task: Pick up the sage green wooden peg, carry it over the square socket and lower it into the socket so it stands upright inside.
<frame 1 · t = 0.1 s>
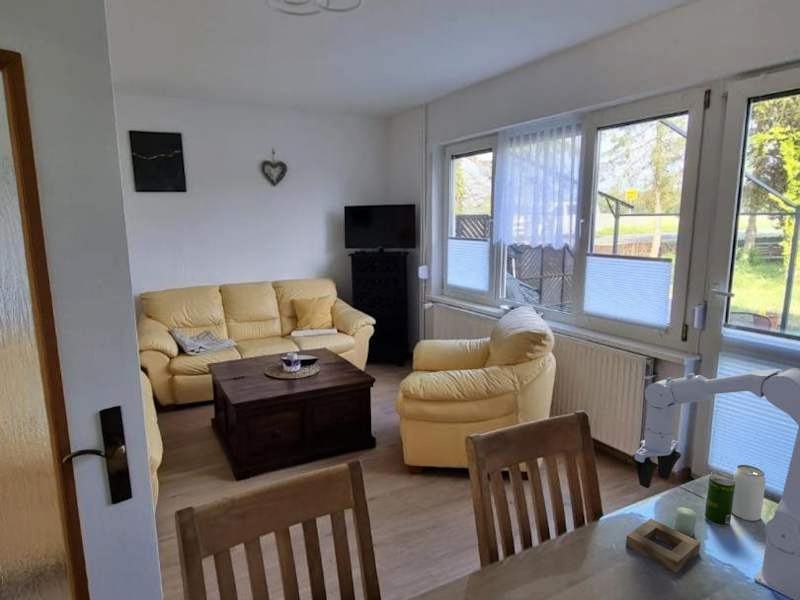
hand: (653, 482, 121), 10 cm above the table, tool pointing down, fingers open, 7 cm apart
can: (744, 515, 126), on the table
socket: (662, 548, 112), on the table
beer can: (716, 521, 123), on the table
peg: (684, 531, 118), on the table
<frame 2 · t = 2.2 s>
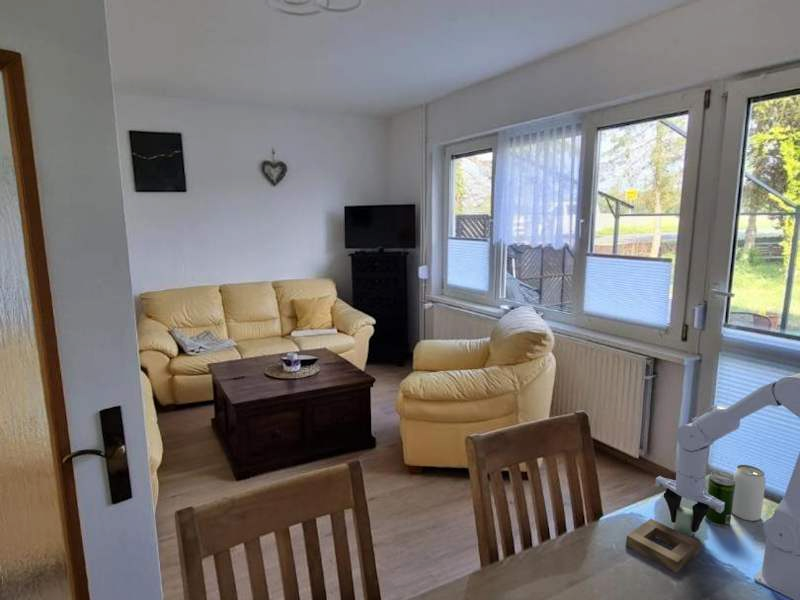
hand: (684, 525, 118), 1 cm above the table, tool pointing down, fingers closed on peg, 4 cm apart
peg: (684, 531, 118), on the table, touching gripper
everything else where it was.
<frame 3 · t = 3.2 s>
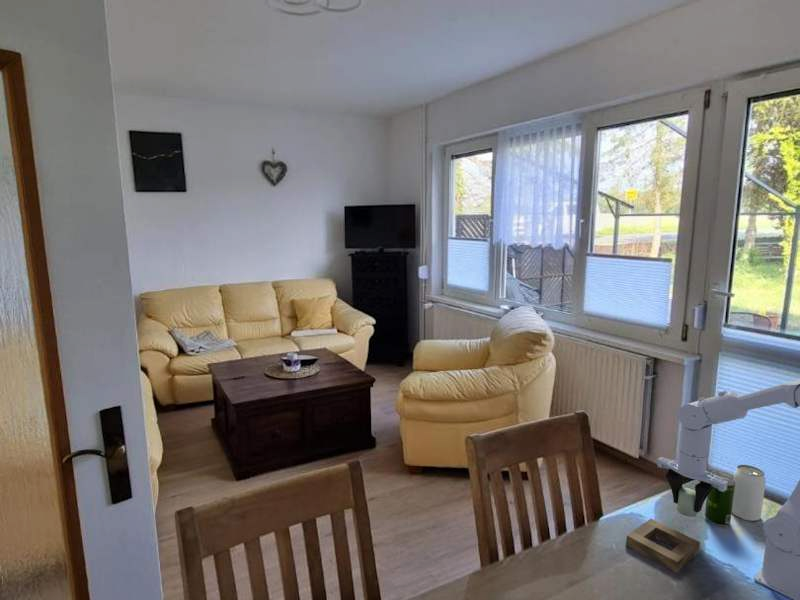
hand: (687, 506, 117), 6 cm above the table, tool pointing down, fingers closed on peg, 4 cm apart
peg: (686, 511, 117), point 5 cm above the table, touching gripper
everything else where it was.
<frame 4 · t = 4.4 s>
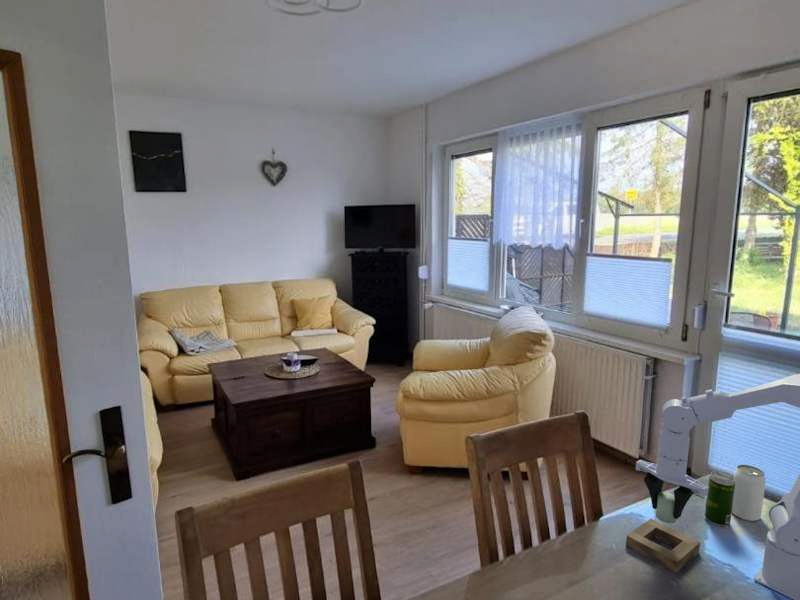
hand: (666, 512, 110), 9 cm above the table, tool pointing down, fingers closed on peg, 4 cm apart
peg: (665, 517, 111), point 7 cm above the table, touching gripper
everything else where it was.
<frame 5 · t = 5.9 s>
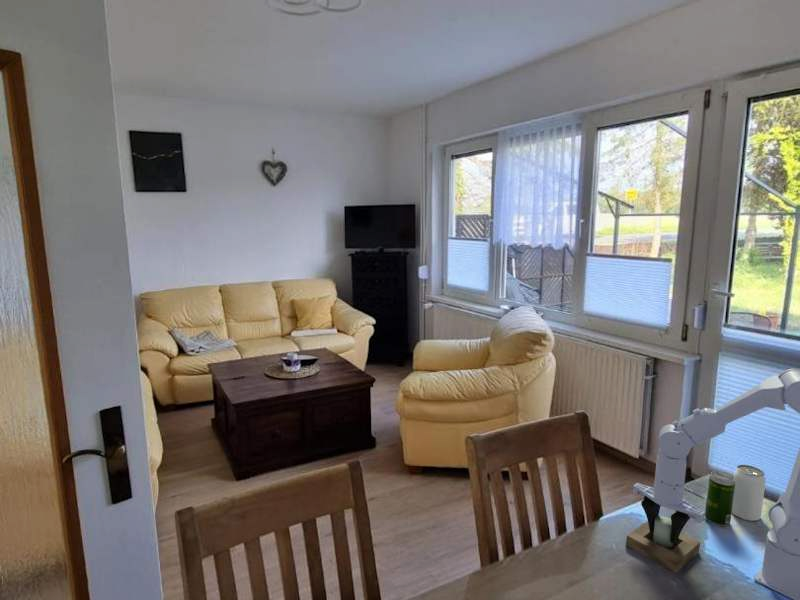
hand: (663, 535, 111), 3 cm above the table, tool pointing down, fingers closed on peg, 4 cm apart
peg: (662, 541, 111), point 2 cm above the table, touching gripper
everything else where it was.
when the fingers open (3 cm above the table, at t = 6.9 s): peg drops 2 cm, resting in socket.
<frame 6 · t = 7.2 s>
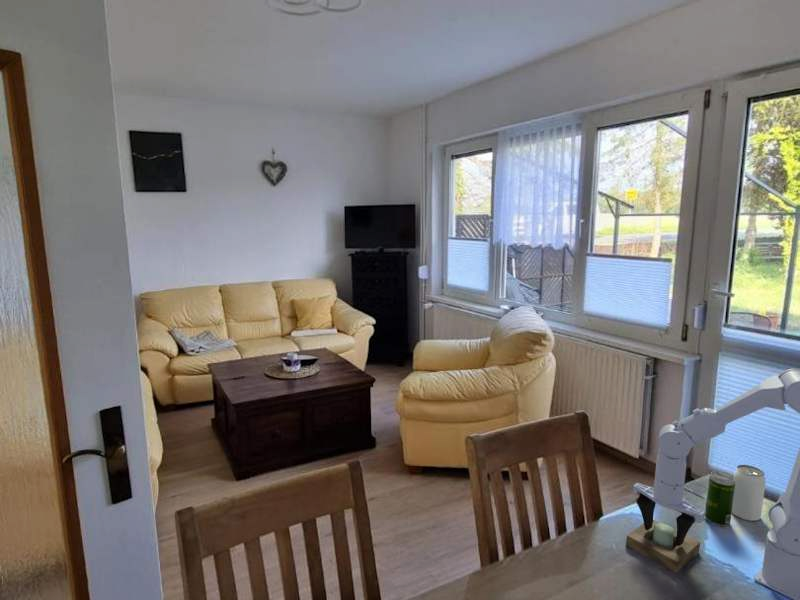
hand: (663, 535, 111), 3 cm above the table, tool pointing down, fingers open, 6 cm apart
peg: (662, 549, 112), resting in socket
everything else where it was.
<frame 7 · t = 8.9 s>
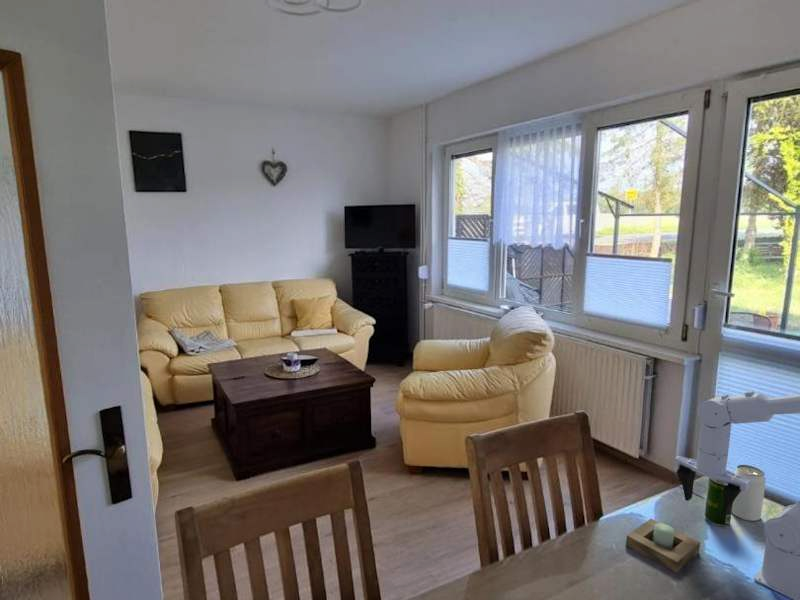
hand: (706, 506, 113), 9 cm above the table, tool pointing down, fingers open, 7 cm apart
nothing on the table moved.
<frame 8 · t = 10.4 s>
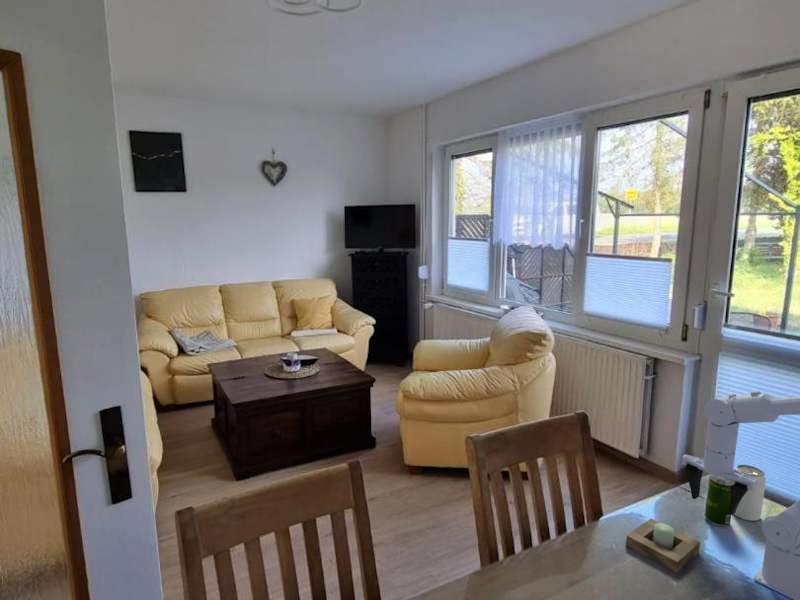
hand: (713, 504, 114), 9 cm above the table, tool pointing down, fingers open, 7 cm apart
nothing on the table moved.
at the end: peg 0.0 cm off-centre on the socket, point 0.0 cm above the socket's base; peg tilted 0°; the gripper is holding nothing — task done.
